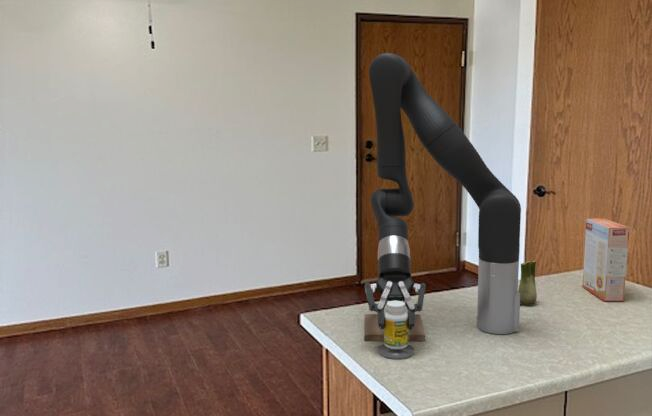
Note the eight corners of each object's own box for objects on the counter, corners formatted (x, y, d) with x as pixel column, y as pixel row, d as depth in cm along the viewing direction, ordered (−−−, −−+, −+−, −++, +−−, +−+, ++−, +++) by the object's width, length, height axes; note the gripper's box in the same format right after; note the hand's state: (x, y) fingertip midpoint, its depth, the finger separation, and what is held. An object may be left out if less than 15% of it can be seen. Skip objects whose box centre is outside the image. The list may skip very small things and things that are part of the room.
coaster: (412, 344, 131) (413, 342, 131) (415, 359, 123) (415, 356, 123) (377, 344, 132) (377, 341, 132) (378, 359, 124) (378, 356, 124)
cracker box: (625, 302, 157) (630, 226, 154) (603, 302, 158) (608, 227, 154) (602, 286, 171) (606, 217, 168) (581, 287, 171) (585, 217, 168)
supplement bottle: (397, 338, 131) (397, 297, 129) (413, 346, 127) (413, 304, 125) (378, 343, 128) (378, 302, 126) (394, 352, 124) (394, 309, 122)
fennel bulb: (532, 300, 160) (534, 258, 158) (541, 306, 155) (543, 263, 153) (512, 302, 159) (514, 259, 157) (521, 307, 154) (522, 264, 152)
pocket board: (419, 319, 147) (419, 314, 146) (425, 341, 133) (425, 335, 133) (364, 319, 148) (364, 313, 147) (364, 340, 134) (364, 334, 134)
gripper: (363, 251, 132) (363, 320, 122) (426, 251, 131) (431, 320, 121) (363, 267, 138) (363, 334, 128) (423, 267, 137) (428, 335, 127)
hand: (396, 327), depth 125 cm, fingers closed on supplement bottle, 5 cm apart
